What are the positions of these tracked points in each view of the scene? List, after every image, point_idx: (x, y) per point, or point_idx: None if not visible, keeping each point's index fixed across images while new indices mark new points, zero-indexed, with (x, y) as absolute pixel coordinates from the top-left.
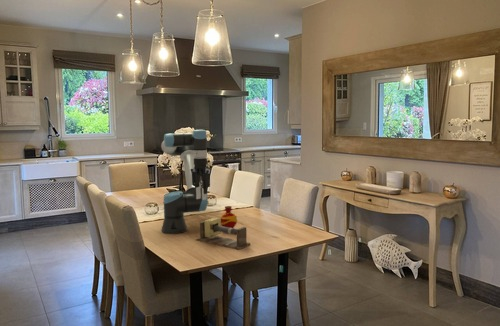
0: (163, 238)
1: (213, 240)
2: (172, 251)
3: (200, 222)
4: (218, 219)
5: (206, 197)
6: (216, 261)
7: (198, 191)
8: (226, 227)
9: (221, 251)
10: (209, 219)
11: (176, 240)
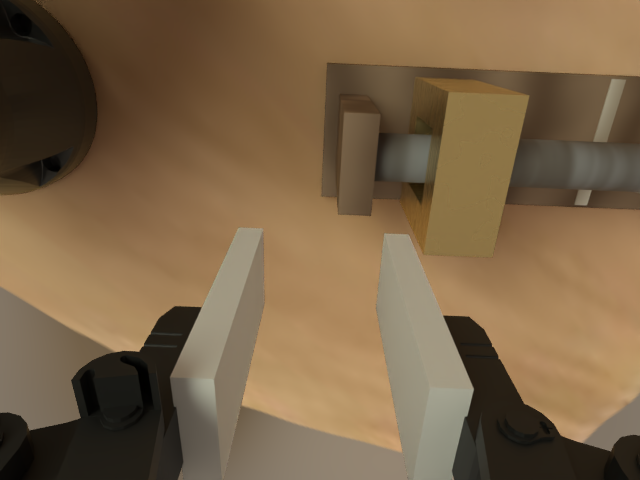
0: (117, 267)
1: None
2: (339, 384)
3: (346, 214)
4: (518, 133)
5: (413, 247)
6: (618, 383)
7: (239, 363)
8: (622, 178)
9: (583, 274)
10: (445, 202)
11: (215, 257)
